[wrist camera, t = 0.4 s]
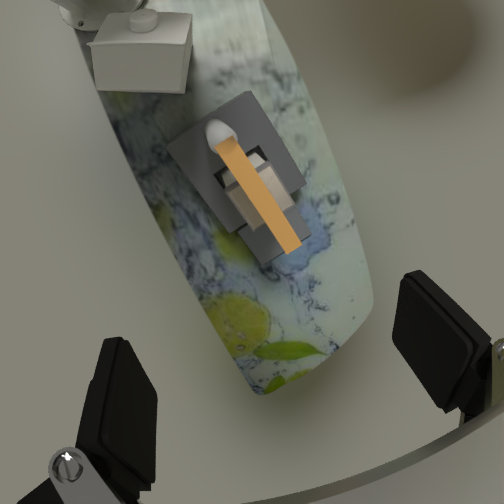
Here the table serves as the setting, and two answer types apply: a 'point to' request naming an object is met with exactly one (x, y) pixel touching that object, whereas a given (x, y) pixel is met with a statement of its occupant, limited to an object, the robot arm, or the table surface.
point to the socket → (209, 163)
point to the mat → (272, 236)
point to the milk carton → (143, 52)
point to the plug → (242, 199)
